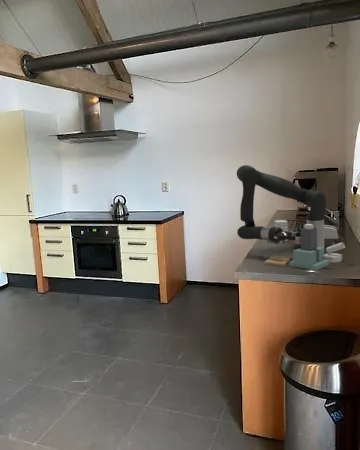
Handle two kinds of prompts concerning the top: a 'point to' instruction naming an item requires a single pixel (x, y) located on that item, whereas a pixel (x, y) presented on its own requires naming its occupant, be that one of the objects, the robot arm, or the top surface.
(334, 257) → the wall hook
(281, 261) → the wooden pad
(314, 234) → the steel sleeve
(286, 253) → the top surface
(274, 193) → the robot arm
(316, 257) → the vise
